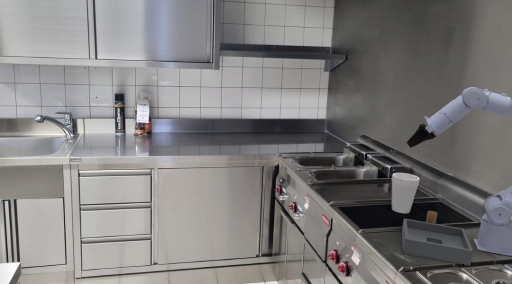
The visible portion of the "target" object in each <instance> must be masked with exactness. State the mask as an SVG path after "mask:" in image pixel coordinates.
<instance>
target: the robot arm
mask: <svg viewBox="0 0 512 284" xmlns="http://www.w3.org/2000/svg"><path fill="white" fill-rule="evenodd" d="M473 109H480V111H484V112H487V113H490V114H494V115H497V116H501V117H504V116H506V115H512V98H511V97H510V96H508V94H507V93H504V92H502V93H501V94H500V93H496V92H492V91H489V89H488V88H484V89H481V88H479V87H474V86H471V87H467V88H464V89H463V90H462V92H461V94H460V95H459V96H456V98H455V99H452V100H451V101H450V102H448V103H447V104H446V105H445V106H444V107H442V108H441V109H439V110H438V111H437V112H436V113H434V114H433V115H431V116H430V117H428V116H424V117H423V118H424V119H425V121H426V123H420V124H419V126H418V128H417V129H416V131H415V132H414V133H413V135H412V136H410V138H409V139H408V140H406V144H407V145H408V146H409V148H410V149H411V148H414V147H416V146H417V145H420V144H422V143H423V142H427V141H430V140H433V139H435V138H436V137H437V136H436V135H435V133H436V134H437V135H438V136H440V135H442V133H444V132H445V131H446V130H447V129H449V128H450V127H451V126H453V125H454V124H455V123H457V122H458V121H460V120H461V119H462V118H463V117H465V116H466V115H467V114H469V112H470V111H472V110H473ZM426 124H427V125H426ZM483 208H484V210H485V212H484V214H483V215H482V216H481V221H480V226H479V231H478V237H477V239H476V238H473V242H474V244H475V247H476V248H477V250H478V251H482V252H486V253H487V252H488V253H494V254H499V255H505V256H510V257H512V222H510V221H511V219H512V184H511V185H510V186H509V187H508V188H506V189H504V190H501V191H499V192H498V193H497V194H494V195H491V196H488V197H487V198H486V199H485V200H484V202H483Z"/></svg>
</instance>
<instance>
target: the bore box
mask: <svg viewBox="0 0 512 284" xmlns="http://www.w3.org/2000/svg"><path fill="white" fill-rule="evenodd" d="M401 239H402V240H401V241H402V242H401V243H402V254H407V255H411V256H416V257H421V258H427V259H432V260H437V261H442V262H448V263H452V264H457V263H458V265H462V264H464V266H469V267H470V266H471V263H472V259H473V253H474V250H473V247H472V245H471V243H470V240H469V238H468V236H467V232H466V231H465V229H464V228H463V227H462V228H460V227H457V226H456V227H455V226H449V225H442V224H438V223H436V224H433V223H427V222H426V221H421V220H416V219H409V218H403V223H402V228H401Z"/></svg>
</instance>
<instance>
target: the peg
mask: <svg viewBox="0 0 512 284" xmlns="http://www.w3.org/2000/svg"><path fill="white" fill-rule="evenodd" d="M437 218H438V212H436V211H434V210H428V211H427V213H426V220H425V222H427V223H433V224H437Z"/></svg>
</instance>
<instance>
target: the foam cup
mask: <svg viewBox="0 0 512 284" xmlns="http://www.w3.org/2000/svg"><path fill="white" fill-rule="evenodd" d="M419 185H420V177H419V176H417V175H414V174H411V173H405V172H395V173H392V175H391V210H392V211H394V212H396V213H399V214H410V212H411V209H412V205H413V203H414V198H415V196H416V193H417V189H418V187H419Z"/></svg>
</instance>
